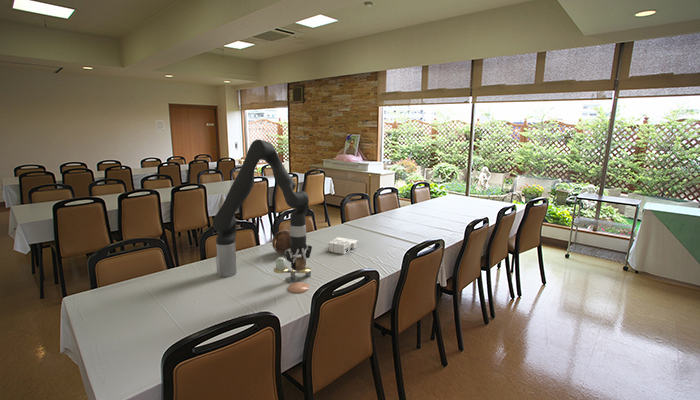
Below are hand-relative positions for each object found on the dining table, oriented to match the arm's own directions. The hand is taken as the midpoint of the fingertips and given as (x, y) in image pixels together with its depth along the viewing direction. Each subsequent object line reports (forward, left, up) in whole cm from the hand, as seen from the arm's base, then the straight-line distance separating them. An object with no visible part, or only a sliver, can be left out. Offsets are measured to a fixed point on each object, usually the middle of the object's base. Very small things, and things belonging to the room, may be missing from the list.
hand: (298, 267), depth 165 cm
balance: (+2, +10, -11) cm, 15 cm away
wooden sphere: (+15, +46, -11) cm, 49 cm away
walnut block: (0, 0, 0) cm, 0 cm away
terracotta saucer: (0, 0, -11) cm, 11 cm away
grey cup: (-5, +10, -3) cm, 11 cm away
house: (+52, +36, -11) cm, 64 cm away
